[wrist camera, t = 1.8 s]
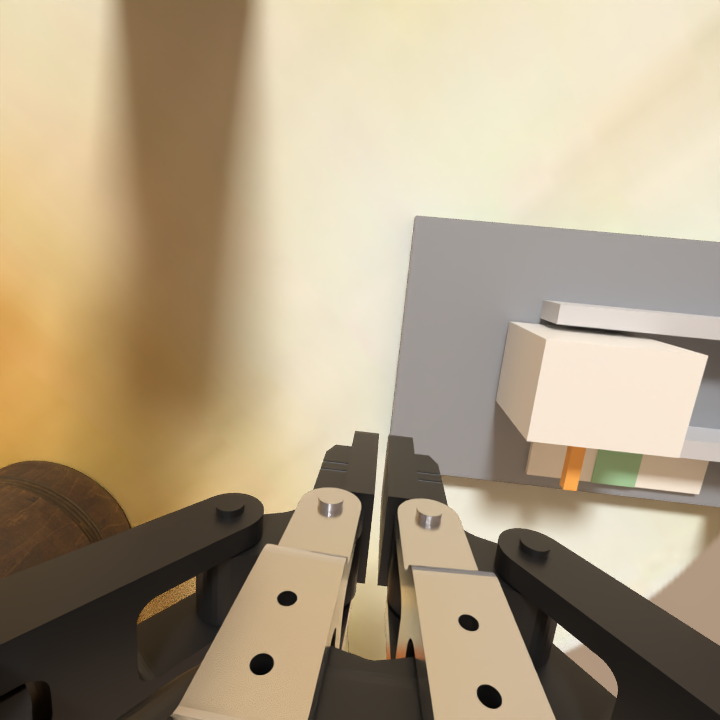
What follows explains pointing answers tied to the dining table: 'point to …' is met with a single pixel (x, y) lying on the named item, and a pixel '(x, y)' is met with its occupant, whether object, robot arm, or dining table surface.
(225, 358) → the dining table surface
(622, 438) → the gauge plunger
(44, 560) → the wooden container
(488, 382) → the stand
